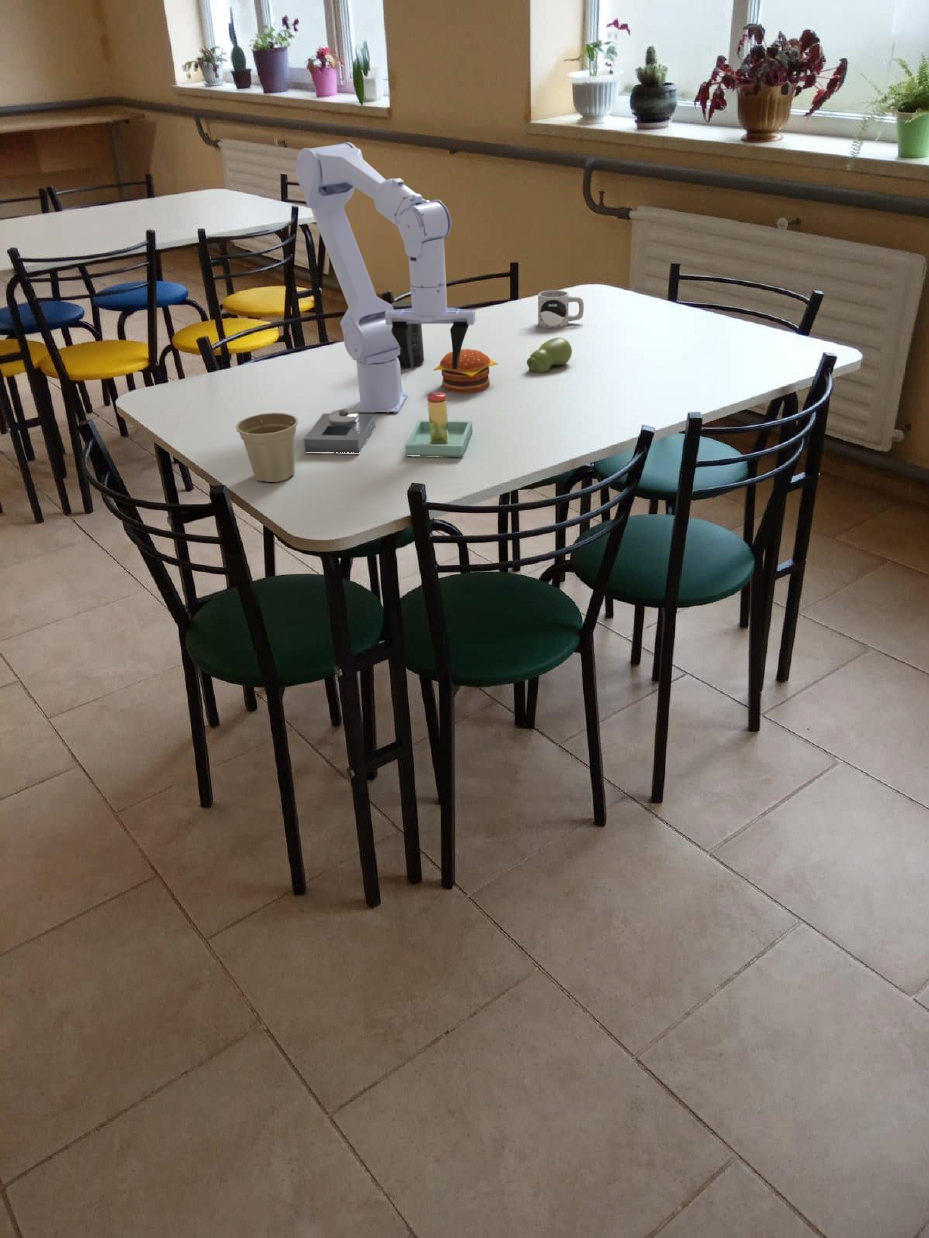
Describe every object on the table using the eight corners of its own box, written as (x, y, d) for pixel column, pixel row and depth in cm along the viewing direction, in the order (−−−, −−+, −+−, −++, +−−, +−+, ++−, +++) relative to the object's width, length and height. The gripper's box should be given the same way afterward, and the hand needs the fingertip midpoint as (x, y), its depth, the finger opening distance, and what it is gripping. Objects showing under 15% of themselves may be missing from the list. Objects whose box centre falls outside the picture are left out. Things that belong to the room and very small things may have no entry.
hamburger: (458, 375, 200) (456, 341, 197) (500, 382, 196) (499, 348, 192) (430, 389, 194) (428, 354, 190) (473, 397, 189) (472, 361, 186)
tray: (419, 431, 175) (418, 420, 174) (472, 432, 174) (472, 421, 173) (406, 457, 165) (405, 445, 164) (462, 458, 164) (462, 446, 163)
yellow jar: (431, 438, 171) (428, 392, 167) (449, 438, 170) (447, 392, 166) (429, 444, 168) (426, 398, 164) (447, 444, 168) (444, 397, 164)
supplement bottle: (426, 358, 210) (422, 298, 204) (421, 368, 205) (418, 307, 198) (393, 358, 211) (388, 299, 205) (387, 369, 205) (382, 308, 199)
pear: (576, 336, 200) (538, 356, 196) (578, 362, 203) (542, 382, 199) (556, 331, 204) (519, 350, 199) (559, 356, 207) (522, 375, 202)
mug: (538, 329, 226) (538, 298, 222) (537, 320, 231) (537, 290, 228) (584, 327, 225) (585, 296, 222) (582, 319, 231) (583, 289, 227)
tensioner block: (324, 427, 179) (322, 404, 176) (375, 428, 177) (373, 405, 175) (305, 453, 168) (302, 429, 166) (359, 454, 167) (356, 430, 165)
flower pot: (232, 477, 161) (223, 424, 157) (281, 459, 167) (274, 408, 162) (267, 493, 156) (258, 439, 151) (316, 474, 161) (310, 421, 157)
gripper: (378, 290, 162) (385, 374, 169) (469, 289, 160) (472, 375, 167) (387, 279, 168) (394, 361, 175) (475, 278, 166) (478, 361, 173)
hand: (433, 367), depth 171 cm, fingers open, 7 cm apart
